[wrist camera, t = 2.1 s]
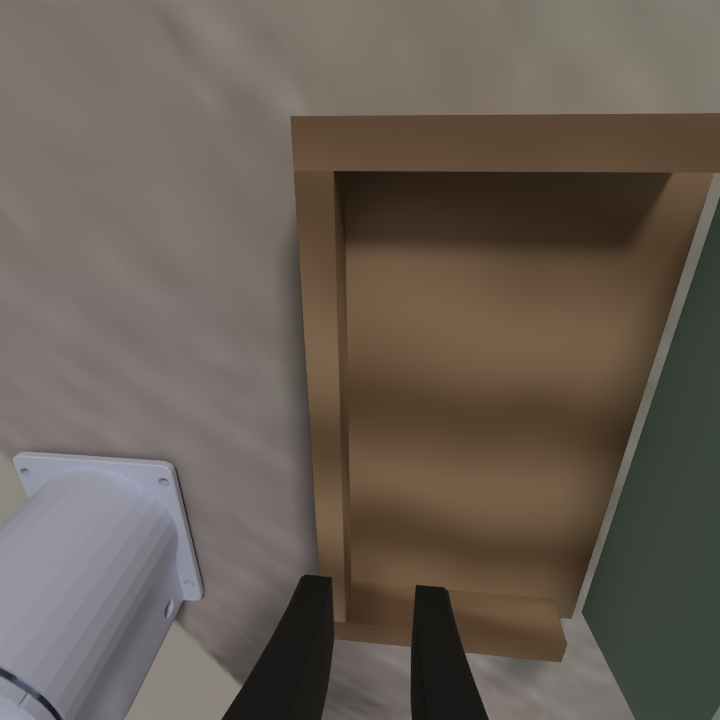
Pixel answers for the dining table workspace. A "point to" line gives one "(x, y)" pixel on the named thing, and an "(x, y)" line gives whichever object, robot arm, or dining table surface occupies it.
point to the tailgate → (670, 529)
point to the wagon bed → (482, 350)
